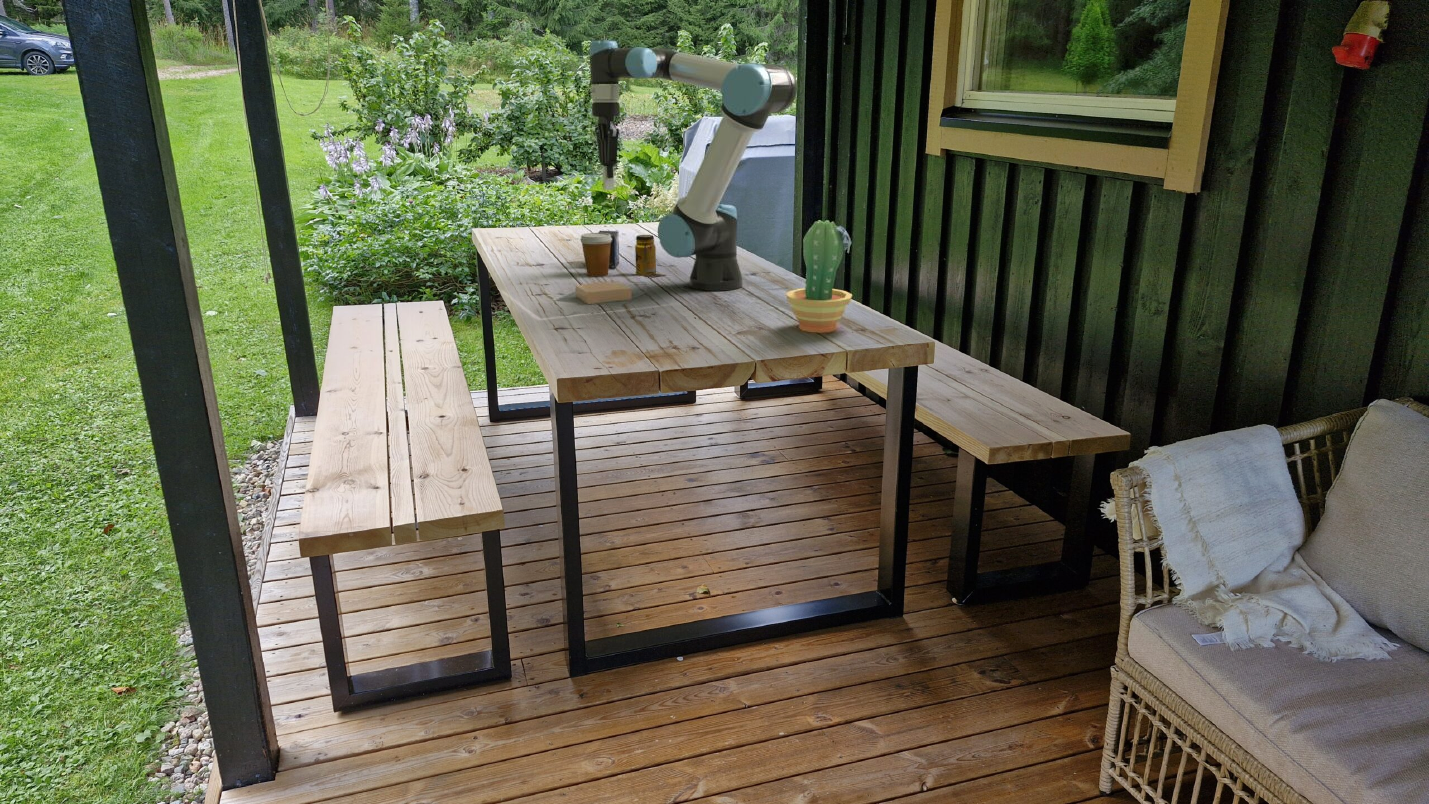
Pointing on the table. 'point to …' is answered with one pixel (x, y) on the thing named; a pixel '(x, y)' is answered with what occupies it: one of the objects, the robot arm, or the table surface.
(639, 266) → the condiment
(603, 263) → the disposable coffee cup
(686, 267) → the table surface
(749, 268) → the table surface
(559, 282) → the table surface
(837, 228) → the potted cactus
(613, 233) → the small box
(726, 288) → the robot arm
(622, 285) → the tile
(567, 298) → the mat
